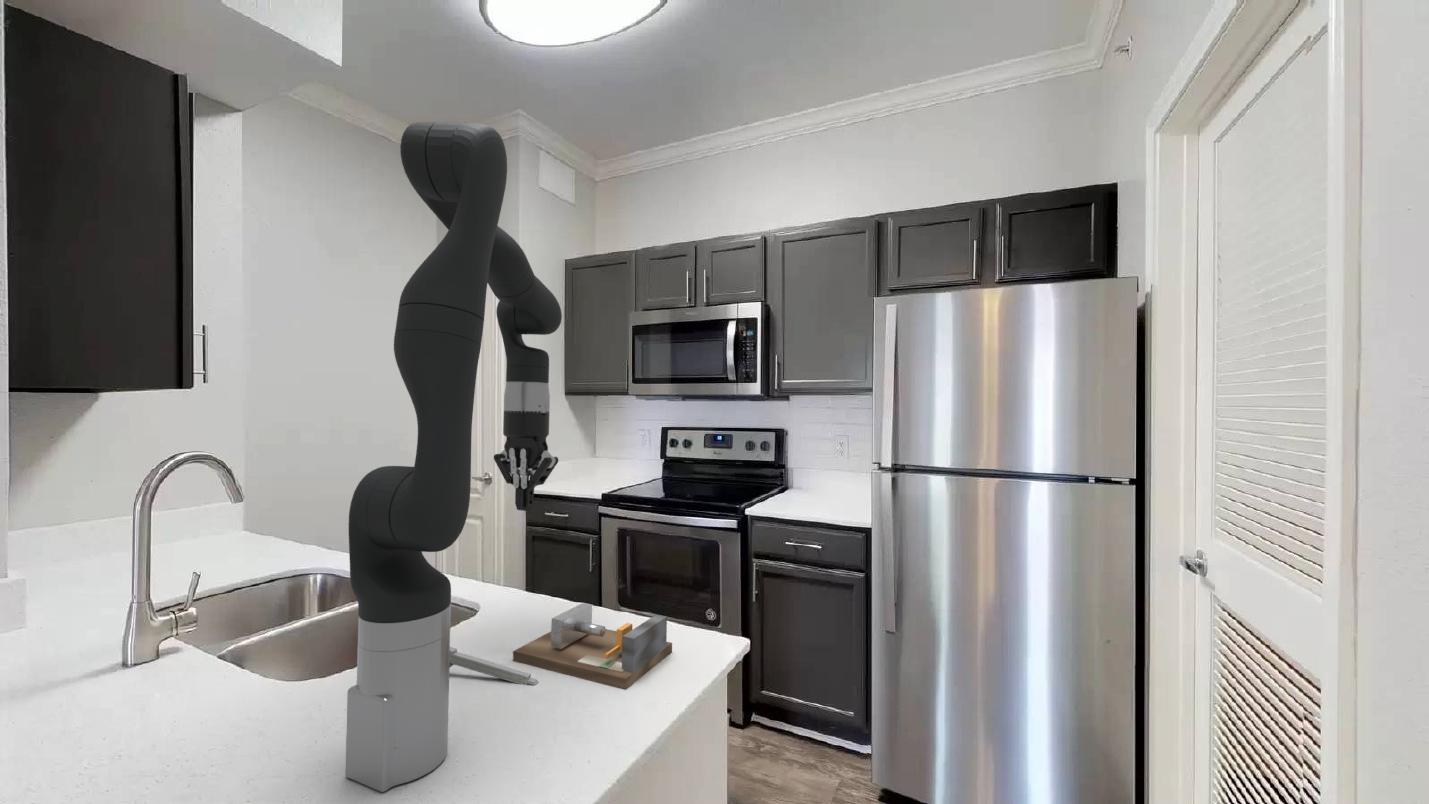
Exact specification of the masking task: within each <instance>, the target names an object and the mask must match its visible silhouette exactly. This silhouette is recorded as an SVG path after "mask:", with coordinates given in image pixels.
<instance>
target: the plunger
mask: <svg viewBox="0 0 1429 804" xmlns="http://www.w3.org/2000/svg"><path fill="white" fill-rule="evenodd" d="M605 629H606V627H605V626H604V625H599V624H595V623H593V604H589V603H585V602H582V603H580V604H578V605H576V606H574V607H572V608H570V609H567V610H566V611H564V612H561V613H560V614H558V615H555V616H554V617H551V629H550V630H551V631H550V632H551V647H555V648H559V649H562V648H564V647H565V646H567V645H569V644H571V643H572V642H574V641H576V640H578V639H579V638H581V637H583V636H584V635H586V634H591V635H596V636H600V637H602V636H603V635H604V634H605Z"/></svg>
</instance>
